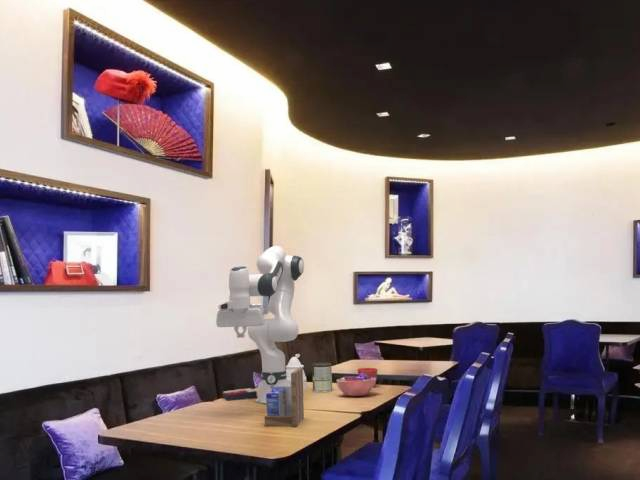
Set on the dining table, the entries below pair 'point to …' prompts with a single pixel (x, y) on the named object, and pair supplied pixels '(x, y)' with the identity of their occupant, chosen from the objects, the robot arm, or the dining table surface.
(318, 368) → the coffee can
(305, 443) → the dining table surface
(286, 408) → the steel bookend
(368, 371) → the flower pot
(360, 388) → the cell model
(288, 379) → the honey pot
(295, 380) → the walnut shelf
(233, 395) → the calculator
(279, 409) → the ink cartridge box
